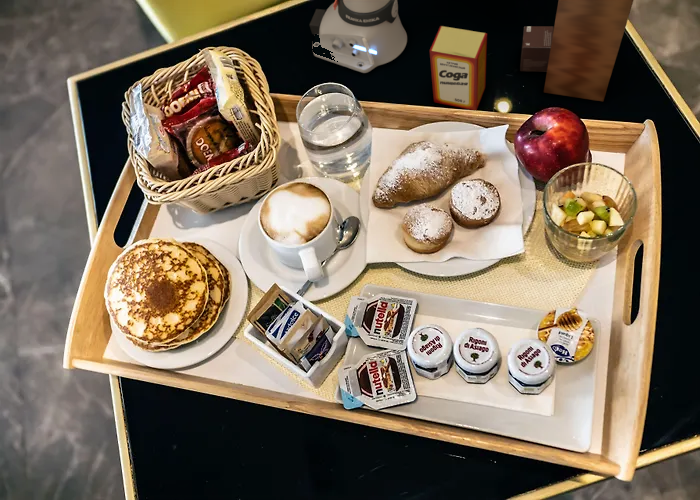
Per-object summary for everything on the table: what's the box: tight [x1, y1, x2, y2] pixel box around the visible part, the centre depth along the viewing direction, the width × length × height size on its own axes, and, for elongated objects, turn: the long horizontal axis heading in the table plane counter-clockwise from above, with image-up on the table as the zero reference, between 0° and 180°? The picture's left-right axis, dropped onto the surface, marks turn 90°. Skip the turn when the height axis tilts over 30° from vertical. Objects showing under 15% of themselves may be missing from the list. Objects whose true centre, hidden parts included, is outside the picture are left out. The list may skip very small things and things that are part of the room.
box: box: [519, 25, 554, 73], centre depth 128 cm, size 6×6×7 cm
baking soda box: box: [429, 25, 488, 111], centre depth 124 cm, size 10×6×16 cm
